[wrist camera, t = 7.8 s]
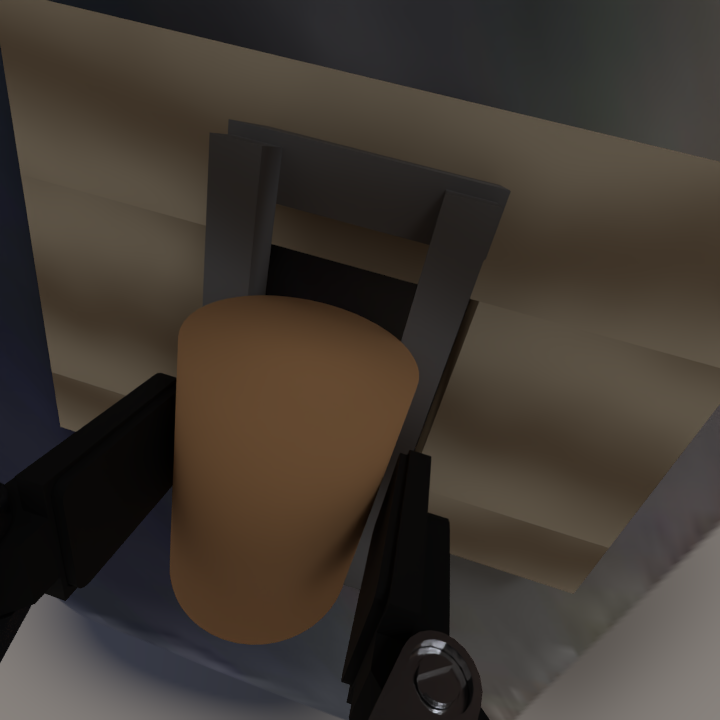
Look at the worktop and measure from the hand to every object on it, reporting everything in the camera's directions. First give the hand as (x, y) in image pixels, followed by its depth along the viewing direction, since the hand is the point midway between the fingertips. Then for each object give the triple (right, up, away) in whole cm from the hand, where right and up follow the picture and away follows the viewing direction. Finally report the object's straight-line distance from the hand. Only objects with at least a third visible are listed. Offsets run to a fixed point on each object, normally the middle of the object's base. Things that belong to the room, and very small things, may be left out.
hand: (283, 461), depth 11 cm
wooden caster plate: (+2, +4, +6) cm, 7 cm away
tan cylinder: (0, +1, +2) cm, 2 cm away
